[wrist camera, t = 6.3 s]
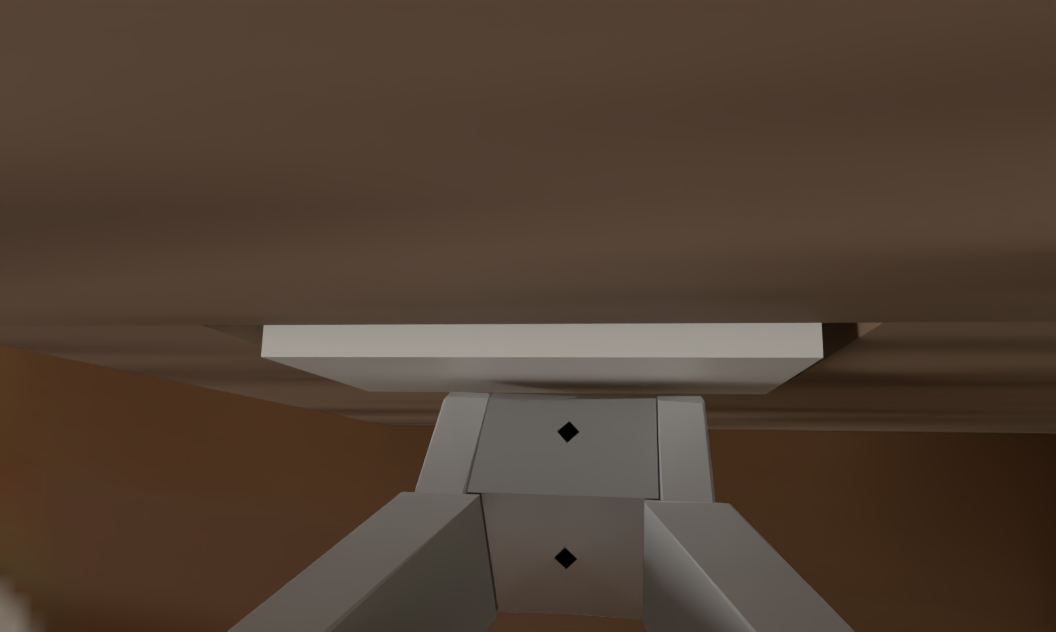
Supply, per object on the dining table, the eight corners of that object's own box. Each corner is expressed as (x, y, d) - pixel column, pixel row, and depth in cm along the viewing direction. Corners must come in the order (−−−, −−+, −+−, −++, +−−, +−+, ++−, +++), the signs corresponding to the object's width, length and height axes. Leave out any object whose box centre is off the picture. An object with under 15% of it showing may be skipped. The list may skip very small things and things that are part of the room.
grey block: (765, 394, 10) (824, 358, 7) (368, 391, 11) (260, 357, 8) (749, -31, 11) (792, -225, 8) (393, -9, 12) (306, -180, 9)
